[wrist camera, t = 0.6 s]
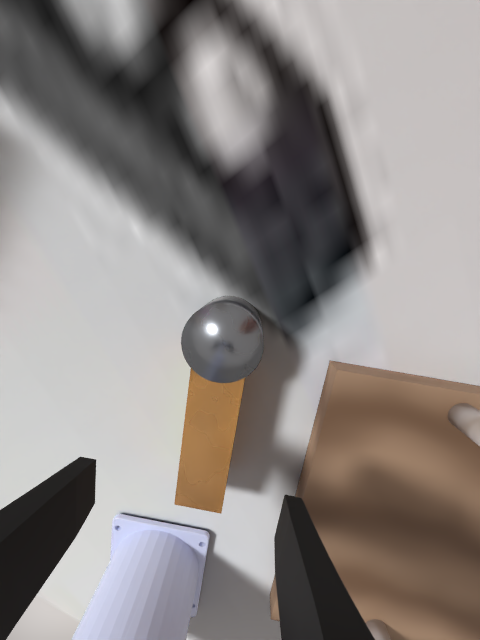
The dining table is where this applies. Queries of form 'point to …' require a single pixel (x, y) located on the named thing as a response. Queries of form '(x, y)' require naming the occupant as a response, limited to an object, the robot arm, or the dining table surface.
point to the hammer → (215, 395)
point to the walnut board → (398, 499)
